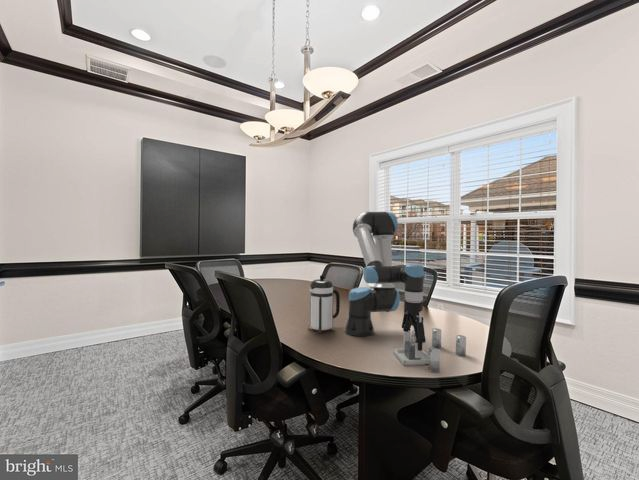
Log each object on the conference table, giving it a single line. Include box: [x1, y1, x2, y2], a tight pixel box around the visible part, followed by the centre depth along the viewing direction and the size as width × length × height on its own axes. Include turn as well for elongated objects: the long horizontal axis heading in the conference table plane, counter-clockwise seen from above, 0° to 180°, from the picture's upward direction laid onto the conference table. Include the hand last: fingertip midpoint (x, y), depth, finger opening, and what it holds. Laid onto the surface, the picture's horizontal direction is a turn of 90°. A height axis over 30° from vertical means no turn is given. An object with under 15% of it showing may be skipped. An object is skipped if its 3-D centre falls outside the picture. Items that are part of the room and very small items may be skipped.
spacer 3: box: [428, 347, 441, 373], centre depth 120 cm, size 4×4×8 cm
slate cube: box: [404, 340, 421, 360], centre depth 131 cm, size 5×5×6 cm
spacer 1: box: [411, 330, 416, 341], centre depth 141 cm, size 4×4×8 cm
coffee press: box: [307, 274, 341, 335], centre depth 168 cm, size 17×16×30 cm
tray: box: [392, 348, 429, 367], centre depth 131 cm, size 13×13×2 cm
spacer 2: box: [431, 327, 442, 349], centre depth 145 cm, size 4×4×8 cm
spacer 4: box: [455, 334, 467, 357], centre depth 135 cm, size 4×4×8 cm
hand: (412, 351), depth 131 cm, fingers open, 11 cm apart
